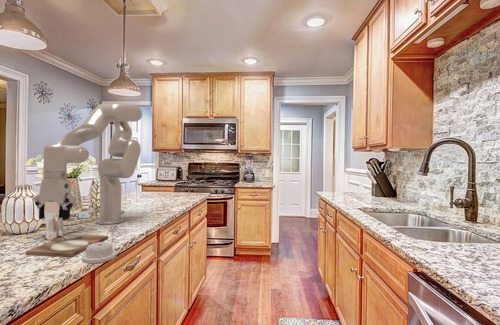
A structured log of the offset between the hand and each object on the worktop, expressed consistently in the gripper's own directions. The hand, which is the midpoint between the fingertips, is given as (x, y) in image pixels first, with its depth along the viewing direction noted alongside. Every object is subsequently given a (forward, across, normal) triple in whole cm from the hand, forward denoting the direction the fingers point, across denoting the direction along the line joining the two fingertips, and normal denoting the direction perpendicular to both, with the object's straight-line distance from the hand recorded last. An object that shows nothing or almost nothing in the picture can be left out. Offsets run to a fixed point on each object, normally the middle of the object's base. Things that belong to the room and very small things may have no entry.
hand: (54, 218), depth 107 cm
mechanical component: (+8, -30, +17) cm, 35 cm away
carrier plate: (+8, -13, +8) cm, 17 cm away
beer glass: (+8, 0, 0) cm, 8 cm away
